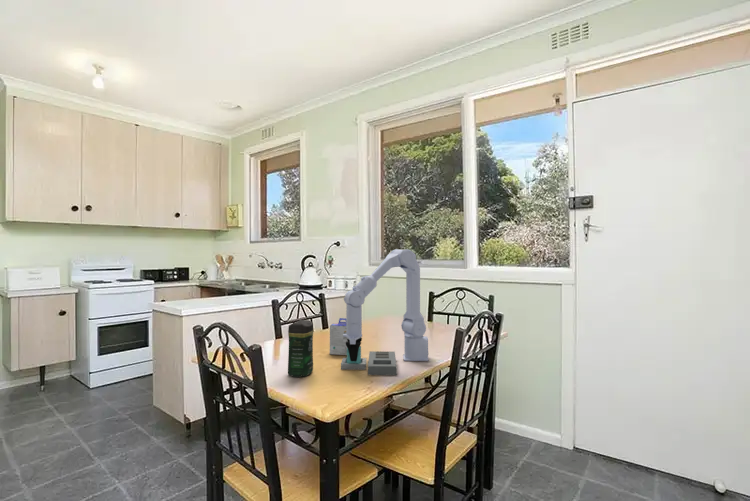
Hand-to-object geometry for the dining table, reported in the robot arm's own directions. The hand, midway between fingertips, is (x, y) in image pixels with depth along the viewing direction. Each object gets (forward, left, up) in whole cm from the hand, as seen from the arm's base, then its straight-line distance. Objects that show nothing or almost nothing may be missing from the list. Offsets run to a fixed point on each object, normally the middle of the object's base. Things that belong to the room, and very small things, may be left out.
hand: (354, 359), depth 150 cm
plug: (0, 0, -3) cm, 3 cm away
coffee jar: (+18, +9, -3) cm, 20 cm away
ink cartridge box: (+6, -18, -3) cm, 19 cm away
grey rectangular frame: (0, 0, -3) cm, 3 cm away
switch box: (-10, 0, -3) cm, 11 cm away
